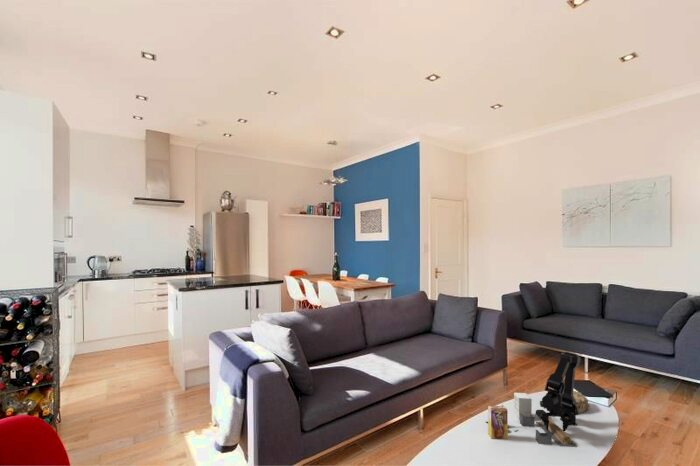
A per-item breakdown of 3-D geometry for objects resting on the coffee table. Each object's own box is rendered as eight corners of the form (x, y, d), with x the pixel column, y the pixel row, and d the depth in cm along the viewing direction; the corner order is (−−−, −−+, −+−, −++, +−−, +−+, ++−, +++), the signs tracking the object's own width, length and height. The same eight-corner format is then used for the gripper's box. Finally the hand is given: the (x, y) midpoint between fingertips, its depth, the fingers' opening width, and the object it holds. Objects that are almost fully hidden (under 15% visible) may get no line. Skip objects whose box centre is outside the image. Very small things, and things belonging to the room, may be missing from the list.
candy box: (504, 434, 176) (504, 405, 177) (507, 439, 172) (508, 409, 172) (487, 433, 176) (487, 405, 177) (491, 438, 172) (491, 409, 172)
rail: (547, 423, 188) (547, 416, 188) (570, 444, 168) (570, 437, 168) (541, 422, 188) (541, 416, 188) (564, 444, 168) (564, 437, 168)
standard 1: (531, 423, 187) (531, 414, 188) (534, 426, 184) (534, 416, 185) (519, 423, 187) (520, 413, 188) (522, 426, 184) (522, 416, 185)
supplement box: (526, 413, 198) (526, 392, 199) (531, 420, 191) (531, 398, 191) (513, 413, 199) (513, 392, 199) (518, 419, 192) (518, 397, 192)
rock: (575, 418, 196) (570, 401, 198) (553, 412, 209) (548, 396, 211) (596, 408, 204) (591, 391, 206) (574, 403, 217) (569, 387, 219)
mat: (551, 422, 189) (551, 422, 189) (577, 446, 167) (577, 446, 167) (535, 422, 189) (535, 421, 189) (559, 446, 167) (559, 445, 167)
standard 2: (548, 440, 171) (548, 430, 172) (551, 444, 168) (551, 433, 169) (535, 440, 172) (535, 429, 172) (538, 443, 168) (538, 433, 169)
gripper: (563, 395, 186) (563, 423, 186) (530, 394, 186) (530, 422, 186) (576, 405, 175) (576, 434, 175) (541, 404, 175) (541, 433, 175)
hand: (555, 430), depth 178 cm, fingers open, 9 cm apart
